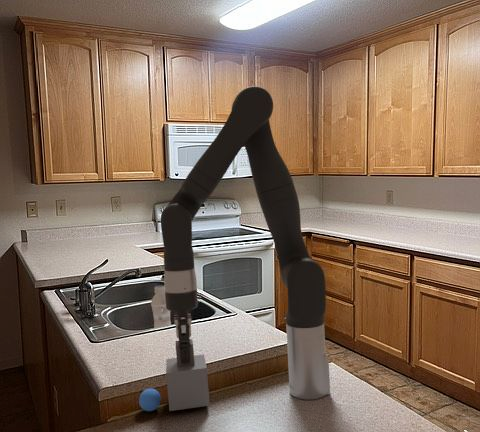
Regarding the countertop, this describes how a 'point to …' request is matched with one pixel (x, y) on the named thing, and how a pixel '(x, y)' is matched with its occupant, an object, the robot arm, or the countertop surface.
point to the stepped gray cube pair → (187, 381)
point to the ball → (149, 399)
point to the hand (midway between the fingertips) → (185, 359)
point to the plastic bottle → (160, 308)
